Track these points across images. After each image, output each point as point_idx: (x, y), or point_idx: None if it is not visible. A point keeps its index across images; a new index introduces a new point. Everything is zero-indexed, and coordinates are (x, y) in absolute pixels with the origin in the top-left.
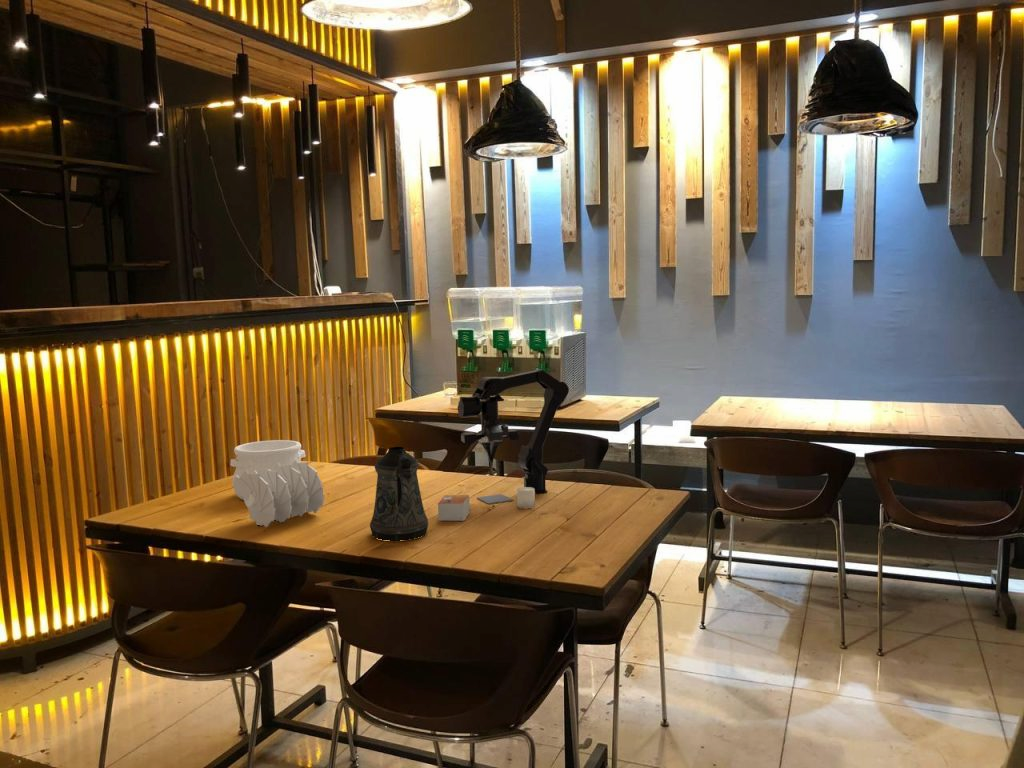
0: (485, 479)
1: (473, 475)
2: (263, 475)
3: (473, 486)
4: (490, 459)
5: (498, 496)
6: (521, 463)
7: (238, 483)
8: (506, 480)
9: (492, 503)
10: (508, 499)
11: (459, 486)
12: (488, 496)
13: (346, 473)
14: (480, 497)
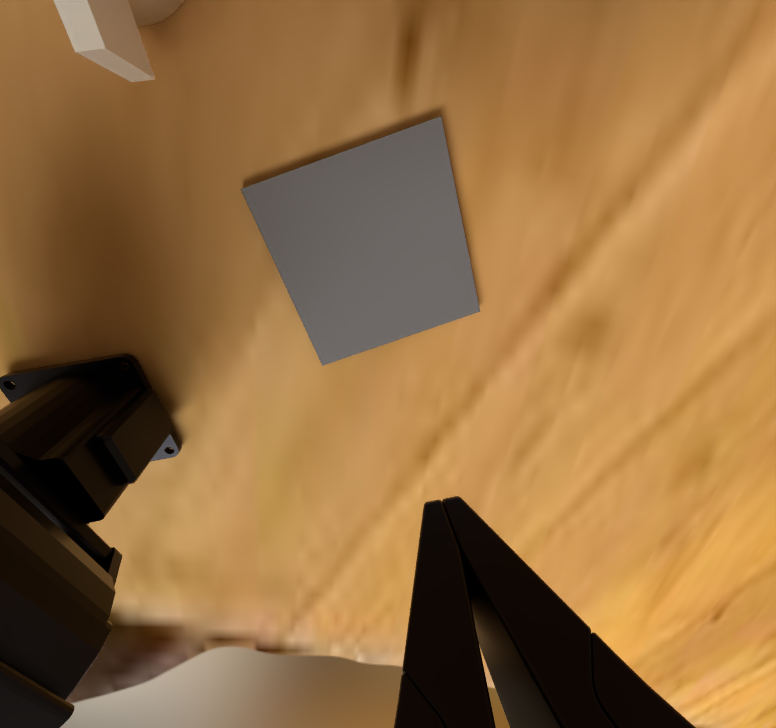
0: (373, 618)
1: None
2: None
3: None
4: (466, 521)
5: (345, 309)
6: (56, 577)
7: None
8: (284, 604)
9: (406, 130)
10: (279, 204)
11: None
12: (408, 321)
13: (753, 671)
14: (459, 308)
